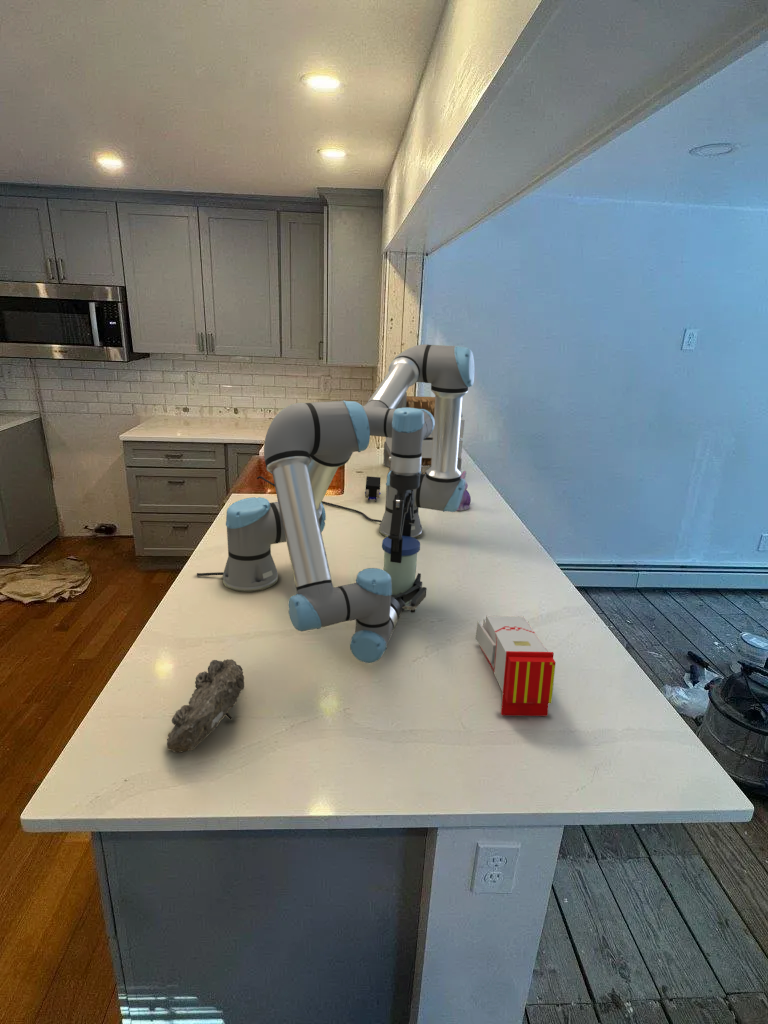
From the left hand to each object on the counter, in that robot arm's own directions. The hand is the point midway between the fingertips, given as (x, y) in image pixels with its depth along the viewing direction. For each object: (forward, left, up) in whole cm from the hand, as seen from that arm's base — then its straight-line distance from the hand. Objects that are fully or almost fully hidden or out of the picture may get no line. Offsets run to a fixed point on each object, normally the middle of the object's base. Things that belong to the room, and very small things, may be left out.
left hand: (402, 575), depth 155 cm
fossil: (-24, -59, -6) cm, 64 cm away
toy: (+30, -29, -6) cm, 42 cm away
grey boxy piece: (-18, +124, -6) cm, 126 cm away
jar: (0, -5, -6) cm, 8 cm away
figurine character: (-29, +79, -6) cm, 85 cm away
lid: (0, -5, +11) cm, 12 cm away
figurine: (+7, +80, -6) cm, 81 cm away
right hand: (0, -5, +8) cm, 10 cm away
